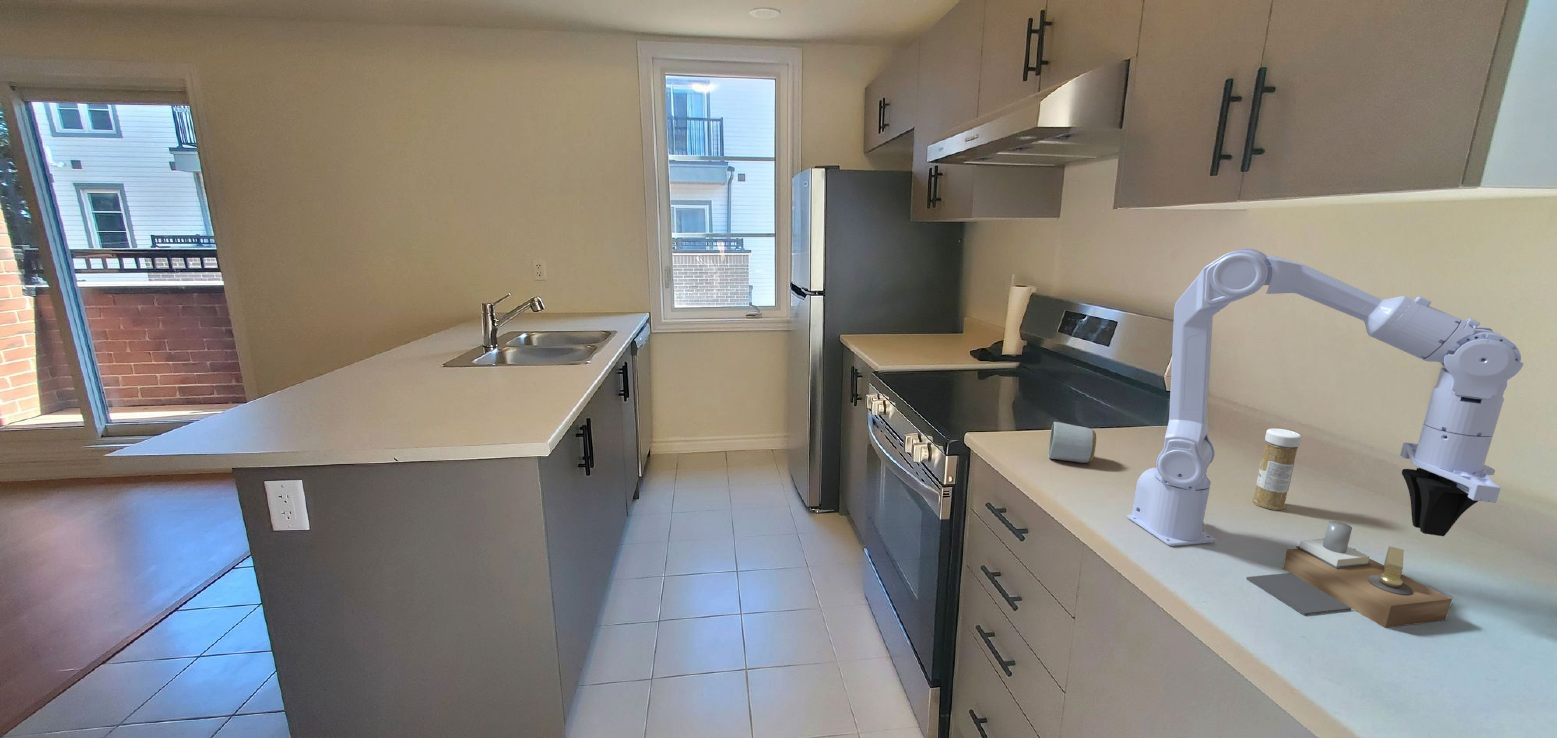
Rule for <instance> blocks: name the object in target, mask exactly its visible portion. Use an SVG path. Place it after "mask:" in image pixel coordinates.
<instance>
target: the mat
mask: <svg viewBox="0 0 1557 738" xmlns="http://www.w3.org/2000/svg"><path fill="white" fill-rule="evenodd" d="M1245 579H1246V580H1247V581H1249V583H1252V584H1254V585H1255V586H1256V587H1258V588H1260V589H1261V590H1263V591H1265V592H1266V593H1268V594H1270V595H1271V596H1273V597H1274V598H1276V599H1277V600H1279V601H1280V602H1281V603H1283V604H1285V605H1287V606H1288V607H1290V608H1291V609H1292V610H1295V611H1297V612H1298V613H1300V615H1303V616H1308V615H1309V616H1310V615H1316V614H1317V615H1318V614H1325V613H1326V614H1328V613H1336V612H1344V611H1345V612H1346V611H1351V610H1352V608H1351V607H1349V606H1347V605H1345V604H1344V603H1342V602H1340V601H1338V600H1337V599H1335V598H1333V597H1332V596H1330V595H1328V594H1326V593H1325V592H1323V591H1321V590H1319V589H1318V588H1316V587H1314V586H1313V585H1311V584H1309V583H1307V582H1306V581H1304V580H1302V579H1300V578H1299V577H1297V576H1295V575H1293V574H1292V573H1290V572H1284V573H1283V572H1281V573H1275V574H1274V573H1273V574H1263V575H1253V576H1246V578H1245Z"/></svg>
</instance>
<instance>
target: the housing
mask: <svg viewBox="0 0 1557 738" xmlns="http://www.w3.org/2000/svg"><path fill="white" fill-rule="evenodd" d="M1283 561H1284V562H1283V566H1282V569H1284V570H1285V571H1287V573H1292V574H1293V575H1295V576H1297V577H1299V578H1300V579H1302V580H1304V581H1306V582H1307V583H1309V584H1311V585H1313V586H1314V587H1316V588H1318V589H1319V590H1321V591H1323V592H1325V593H1326V594H1328V595H1330V596H1332V597H1333V598H1335V599H1337V600H1338V601H1340V602H1342V603H1344V604H1345V605H1347V606H1349V607H1351V610H1354V611H1356V612H1357V613H1358V614H1361V615H1363V616H1365V617H1366V618H1368V619H1370V620H1371V621H1373V622H1375V623H1377V624H1378V625H1380V626H1382V627H1383V628H1391V627H1400V626H1401V627H1402V626H1408V625H1409V626H1410V625H1416V624H1427V623H1434V622H1444V621H1447V618H1448V614H1449V611H1450V608H1451V605H1452V602H1453V598H1452V597H1449V596H1447V595H1444V594H1443V593H1441V592H1439V591H1437V590H1435V589H1434V588H1432V587H1431V588H1430V587H1429V586H1426V585H1424V584H1422V583H1421V582H1418V581H1416V580H1415V579H1412V578H1410V577H1408V576H1406V575H1405V574H1402V573H1401V577H1400V579H1402V580H1403V582H1402V586H1401V588H1393V587H1389V586H1386V585H1384V584H1382V583H1381V582H1380V581H1379V579H1380V575H1381V574H1383V570H1384V564H1382V563H1380V562H1378V561H1376V560H1374V559H1372V558H1370V557H1369V561H1368V563H1366V564H1356V565H1346V566H1335V565H1333V564H1331V563H1329V562H1327V561H1325V560H1323V559H1321V558H1319V557H1318V556H1316V555H1314V554H1312V553H1310V552H1308V551H1306V550H1304V549H1302V548H1300V545H1296V548H1287V549H1286V553H1285V558H1284V560H1283Z"/></svg>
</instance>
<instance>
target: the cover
mask: <svg viewBox="0 0 1557 738" xmlns="http://www.w3.org/2000/svg"><path fill="white" fill-rule="evenodd" d="M1352 529H1353V527H1352V526H1351V525H1349V524H1347V523H1345V522H1341V521H1336V520H1330V521H1328V524H1327V526H1326V530H1325V535H1324V538H1316V539H1305V540H1304V539H1302V540H1300V544H1299V546H1300V548H1302V549H1304V550H1306V551H1308V552H1310V553H1312V554H1314V555H1316V556H1318V557H1319V558H1321V559H1323V560H1325V561H1327V562H1329V563H1331V564H1333V565H1335V566H1346V565H1356V564H1366V563H1368V561H1369V558H1370V556H1369V555H1367V554H1366V553H1363V552H1361V551H1359V550H1357V549H1355V548H1352V547H1351V546H1349V542H1350V539H1351V535H1352V534H1351V533H1352Z"/></svg>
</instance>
